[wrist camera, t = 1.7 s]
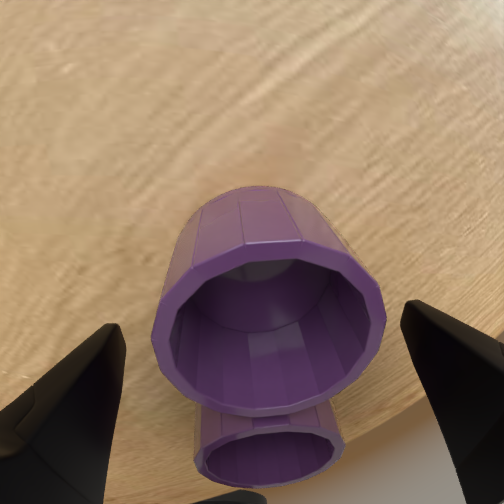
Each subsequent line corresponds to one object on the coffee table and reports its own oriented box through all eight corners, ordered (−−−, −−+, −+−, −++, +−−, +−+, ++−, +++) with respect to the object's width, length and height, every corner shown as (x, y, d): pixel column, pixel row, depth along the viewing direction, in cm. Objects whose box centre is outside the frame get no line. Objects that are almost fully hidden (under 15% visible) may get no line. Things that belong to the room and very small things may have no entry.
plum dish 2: (345, 376, 16) (371, 446, 12) (261, 430, 18) (269, 495, 14) (259, 319, 14) (272, 405, 10) (173, 390, 15) (165, 466, 11)
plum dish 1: (367, 259, 13) (420, 329, 9) (259, 352, 15) (271, 435, 10) (253, 147, 10) (273, 180, 6) (142, 274, 12) (110, 356, 8)
